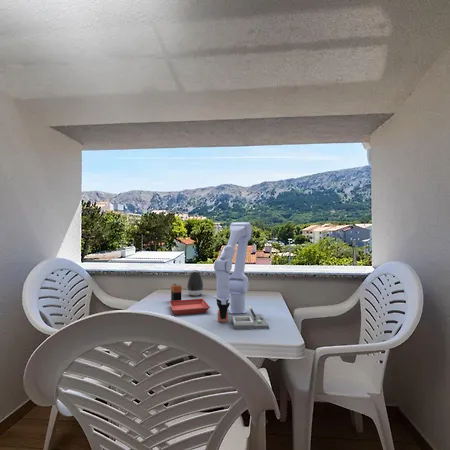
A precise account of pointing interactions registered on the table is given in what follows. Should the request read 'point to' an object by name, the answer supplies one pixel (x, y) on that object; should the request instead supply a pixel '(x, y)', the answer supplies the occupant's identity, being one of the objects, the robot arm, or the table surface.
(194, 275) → the dark grey egg shape
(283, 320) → the table surface
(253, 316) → the lever
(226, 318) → the pink cube
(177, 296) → the battery
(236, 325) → the panel
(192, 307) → the plant saucer
